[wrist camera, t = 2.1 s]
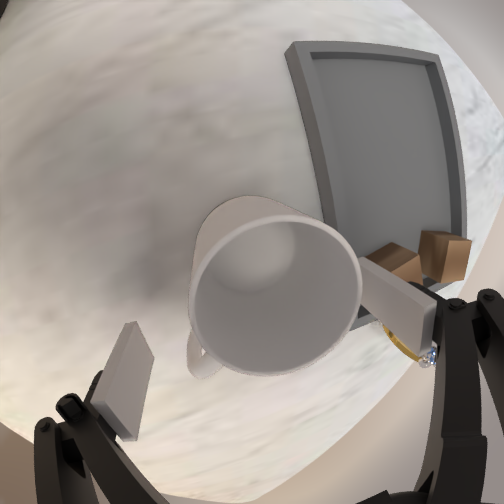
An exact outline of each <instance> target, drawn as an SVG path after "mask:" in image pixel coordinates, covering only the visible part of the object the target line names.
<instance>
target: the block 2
mask: <svg viewBox="0 0 504 504" xmlns="http://www.w3.org/2000/svg"><path fill="white" fill-rule="evenodd" d="M471 243H472V241H471V240H468V239H466V238H463V237H460V236H457V235H455V234H452V233H449V232H446V231H426V230H421V236H420V243H419V249H418V254H419V256H420V263H421V271H422V273H423V274H424V275H426V276H428V277H430V278H431V279H433V280H435V281H437V282H438V283H440V284H442V283H448V282H454V281H461V280H464V277H465V273H466V268H467V264H468V259H469V254H470V249H471Z"/></svg>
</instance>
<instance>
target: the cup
mask: <svg viewBox="0 0 504 504" xmlns="http://www.w3.org/2000/svg"><path fill="white" fill-rule="evenodd" d="M361 298H362V274H361V269H360V265H359V262H358V259H357V257H356V255H355V253H354V251H353V249H352V248H351V246H350V245H349V243H348V242H347V241H346V240H345V239H344V237H343V236H342V235H341V234H339V233H338V232H337V231H336V230H335V229H333V228H332V227H330V226H328V225H327V224H325V223H323V222H321V221H319V220H316V219H314V218H312V217H310V216H308V215H306V214H303V213H301V212H299V211H297V210H295V209H292V208H290V207H288V206H286V205H283V204H281V203H279V202H277V201H274V200H272V199H269V198H265V197H261V196H242V197H237V198H234V199H231V200H229V201H227V202H225V203H223V204H221V205H220V206H218V207H217V208H216V209H214V210H213V211H212V212H211V213H210V214H209V215H208V217H207V218H206V219H205V221H204V222H203V224H202V226H201V228H200V230H199V233H198V236H197V239H196V244H195V250H194V257H193V265H192V273H191V280H190V289H189V297H188V312H189V319H190V323H191V326H192V329H191V331H190V335H189V338H188V343H187V366H188V369H189V371H190V373H191V374H192V375H193V376H194V377H196V378H199V379H205V378H209V377H211V376H212V375H213V374H215V373H216V372H217V371H218V370H219V369H221V367H222V366H223V365H224V366H225V367H227V368H229V369H232V370H234V371H237V372H240V373H243V374H247V375H253V376H278V375H284V374H288V373H292V372H295V371H298V370H301V369H303V368H306V367H308V366H310V365H312V364H314V363H315V362H317V361H319V360H320V359H322V358H323V357H324V356H326V355H327V354H328V353H330V352H331V351H332V350H333V349H334V348H335V347H336V346H337V345H338V344H339V343H340V342H341V341H342V339H343V338H344V337H345V335H346V334H347V333H348V331H349V330H350V328H351V326H352V324H353V322H354V320H355V318H356V316H357V313H358V310H359V307H360V303H361ZM202 347H203V349H204V350H205V351H206V352H205V353H204V355H203V356H202Z"/></svg>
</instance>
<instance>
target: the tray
mask: <svg viewBox="0 0 504 504" xmlns="http://www.w3.org/2000/svg"><path fill="white" fill-rule="evenodd" d="M284 54H285V57H286V61H287V64H288V67H289V70H290V74H291V77H292V81H293V84H294V88H295V91H296V95H297V98H298V102H299V106H300V110H301V114H302V117H303V121H304V125H305V129H306V134H307V138H308V142H309V146H310V151H311V155H312V160H313V164H314V169H315V174H316V179H317V184H318V189H319V194H320V199H321V205H322V210H323V216H324V222H325V224H327V225H328V226H330V227H332V228H333V229H335V230H336V231H337V232H338V233H339V234H341V235H342V236H343V237H344V239H345V240H346V241H347V242H348V243H349V245H350V246H351V248H352V249H353V251H354V253H355V255H356V257H357V258H360V257H365V256H367V255H369V254H371V253H373V252H375V251H376V250H378V249H380V248H382V247H383V246H385V245H387V244H389V243H391V242H393V243H395V244H397V245H400V246H402V247H404V248H406V249H408V250H411V251H413V252H415V253H417V254H418V249H419V243H420V236H421V230H426V231H446V232H449V233H452V234H455V235H457V236H460V237H463V238H466V239H467V204H466V186H465V174H464V164H463V156H462V149H461V142H460V136H459V131H458V125H457V120H456V115H455V111H454V106H453V102H452V98H451V94H450V91H449V87H448V83H447V80H446V77H445V73H444V70H443V67H442V64H441V61H440V58H439V55H437V54H433V53H428V52H424V51H419V50H414V49H408V48H402V47H396V46H389V45H381V44H372V43H360V42H344V41H295V42H293V43H292V44H291V45H290V47H289V48H288V49H287V51H286V52H285V53H284ZM422 280H423V286H424V287H425V288H428V289H429V290H430V291H433V292H434V293H435V292H437V291H438V290H440V289H442V288H444V287H446V286H448V285H450V284H451V283H453V282H448V283H442V284H440V283H438V282H437V281H435V280H433V279H431V278H430V277H428V276H426V275H424V274H423V273H422ZM454 282H455V281H454ZM376 320H378V319H377V318H376V317H375V316H373V315H372V314H371V313H370V312H369V311H368V310H367V309H366V308H365V307H363V306H362V305H361V304H360V307H359V310H358V313H357V316H356V318H355V320H354V322H353V324H352V326H351V328H350V330H349V331H351V330H354V329H356V328H359V327H361V326H364V325H366V324H369V323H371V322H373V321H376Z"/></svg>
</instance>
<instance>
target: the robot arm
mask: <svg viewBox="0 0 504 504" xmlns="http://www.w3.org/2000/svg"><path fill="white" fill-rule="evenodd" d="M6 3H7V0H0V17H1V15H2V13H3V11H4V8H5V6H6ZM357 259H358V262H359V265H360V269H361V274H362V298H361V303H360V304H361V305H362V306H363V307H365V308H366V309H367V310H368V311H369V312H370V313H371V314H372V315H373V316H375V317H376V318H377V319H378V320H379V321H380V322H381V323H382V324H383V325H384V326H385V327H387V328H388V329H389V330H390V331H391V332H392V333H393V334H394V335H395V336H396V337H397V338H398V339H400V340H401V341H402V342H403V343H404V344H405V345H406V346H407V347H408V348H409V349H410V350H411V351H412V352H413V353H414V354H415V355H417V356H418V357H421V356H422V355H424V354H426V353H427V352H429V351H431V345H432V341H434V342H435V343H436V344H437V348H436V353H435V358H434V362H436V370H435V386H434V399H433V407H432V415H431V423H430V430H429V435H428V441H427V446H426V451H425V456H424V461H423V465H422V469H421V473H420V475H419V478H418V480H417V483H416V485H415V488H414V491H407V492H399V493H393V494H389V493H388V491H387V490H385V491H383V492H381V493H379V494H377V495H375V496H372V497H370V498H368V499H366V500H364V501H361V502H359V503H357V504H493V503H481V497H482V491H483V484H484V477H485V469H486V458H487V438H486V436H482V434H481V388H480V377H479V366H478V362H479V364H480V366H481V369H482V371H483V374H484V376H485V379H486V381H487V384H488V386H489V389H490V392H491V395H492V398H493V401H494V404H495V407H496V410H497V413H498V416H499V420H500V423H501V427H502V430H503V435H504V299H503V298H502V297H501V295H500V294H499V293H498V292H497V291H495V290H493V289H483V290H480V291H479V292H478V296H477V301H474V302H470V303H467V302H465V301H464V300H462V299H459V298H451V299H448V300H446V299H444V298H442V297H441V296H439V295H438V294H436V293H434V292H433V291H430V290H429V289H428V288H425V287H424V286H423V285H421V284H419V283H416V282H412V281H409V282H405V281H404V280H402V279H401V278H399V277H397V276H396V275H394V274H392V273H391V272H389V271H387V270H385V269H384V268H382V267H380V266H379V265H377V264H375V263H374V262H372V261H370V260H368V259H367V258H365V257H360V258H357ZM153 362H154V356H153V354H152V352H151V350H150V348H149V346H148V344H147V342H146V340H145V338H144V336H143V334H142V332H141V330H140V328H139V326H138V324H137V321H134V322H130V323H126V324H125V325H124V327H123V329H122V331H121V333H120V335H119V338H118V340H117V342H116V344H115V346H114V348H113V350H112V352H111V355H110V357H109V359H108V361H107V363H106V366H105V368H104V370H101V371H99V372H98V374H97V375H96V376H95V377H94V379H93V381H92V383H91V384H92V385H91V386H90V388H89V391H88V393H87V395H86V397H85V400H84V402H82V400H81V399H80V398H79V396H78V395H77V394H74V393H70V394H67V395H65V396H63V397H62V398H60V400H59V401H58V402H57V404H56V411H57V412H58V413H59V414H60V415H61V417H62V418H63V419H64V420H65V422H61V423H58V424H57V423H56V422H55V421H54V420H53V419H52V418H51V417H45V418H43V419H41V420H39V421H38V422H37V424H36V426H35V430H34V467H35V468H34V469H35V485H36V494H37V503H38V504H99V502H98V499H97V495H96V492H95V489H94V485H93V482H92V478H91V474H90V471H91V473H92V475H93V477H94V478H95V480H96V482H97V483H98V485H99V487H100V488H101V490H102V491H103V493H104V495H105V496H106V498H107V499H108V501H109V502H110V504H169V502H168V501H167V500H166V499H165V498H164V497H163V496H162V495H161V494H160V493H159V492H158V491H157V490H156V489H155V488H154V487H153V486H152V485H151V484H150V482H149V481H148V480H147V479H146V478H145V477H144V476H143V474H142V473H141V472H140V471H139V470H138V468H137V467H136V466H135V465H134V464H133V462H132V461H131V460H130V459H129V457H128V456H127V455H126V453H125V452H124V451H123V449H122V448H121V447H120V445H119V444H118V443H117V442H116V441H115V439H116V434H117V435H118V436H119V437H120V439H121V440H122V441H123V442H125V441H137V439H138V434H139V428H140V423H141V417H142V412H143V407H144V402H145V397H146V393H147V388H148V383H149V379H150V375H151V370H152V366H153Z"/></svg>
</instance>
